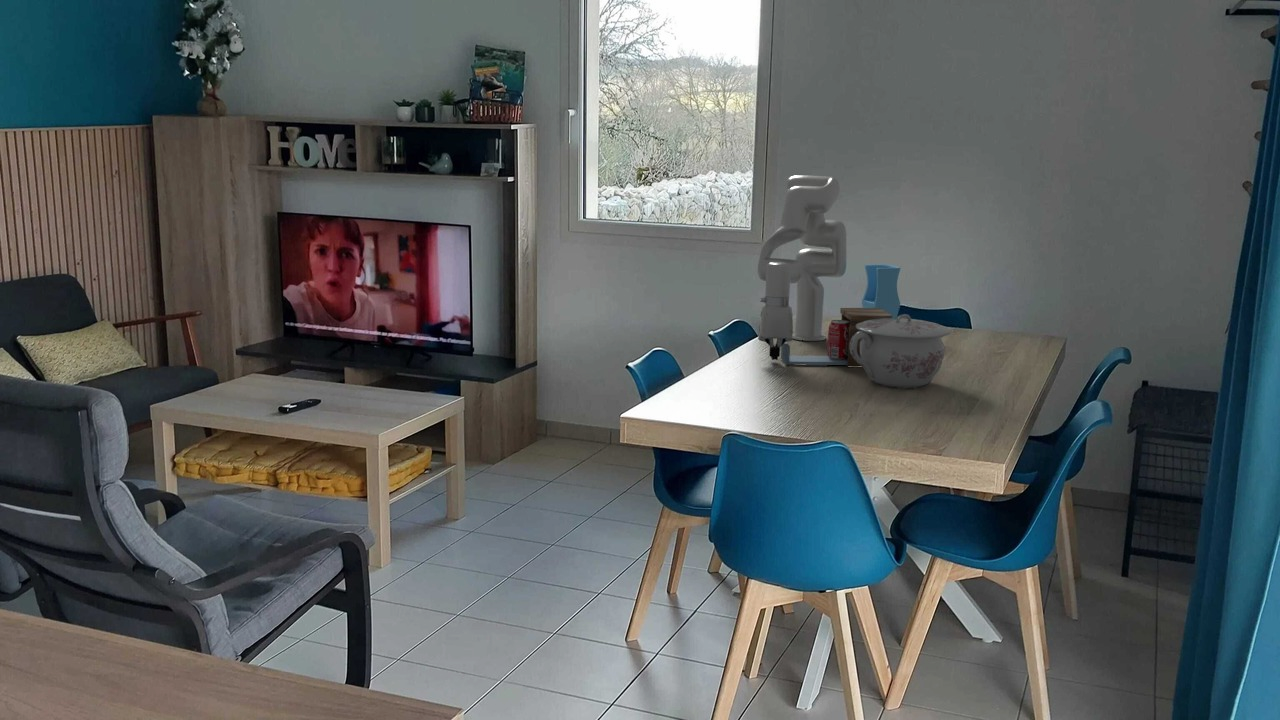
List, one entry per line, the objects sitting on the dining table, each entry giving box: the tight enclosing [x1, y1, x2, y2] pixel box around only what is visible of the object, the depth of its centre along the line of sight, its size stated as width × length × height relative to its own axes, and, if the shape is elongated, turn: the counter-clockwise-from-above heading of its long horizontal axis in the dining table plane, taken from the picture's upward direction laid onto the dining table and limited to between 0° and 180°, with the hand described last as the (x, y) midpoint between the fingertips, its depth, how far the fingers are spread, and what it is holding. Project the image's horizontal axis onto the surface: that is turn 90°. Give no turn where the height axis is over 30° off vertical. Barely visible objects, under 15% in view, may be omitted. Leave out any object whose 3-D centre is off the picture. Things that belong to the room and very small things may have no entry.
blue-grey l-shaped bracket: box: [780, 342, 848, 366], centre depth 362 cm, size 9×23×6 cm, turn 93°
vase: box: [861, 263, 901, 318], centre depth 408 cm, size 10×10×25 cm
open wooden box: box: [840, 307, 892, 367], centre depth 362 cm, size 14×13×17 cm
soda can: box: [826, 319, 850, 360], centre depth 362 cm, size 7×7×12 cm
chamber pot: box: [849, 313, 952, 389], centre depth 335 cm, size 28×28×21 cm
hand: (774, 358), depth 362 cm, fingers closed
